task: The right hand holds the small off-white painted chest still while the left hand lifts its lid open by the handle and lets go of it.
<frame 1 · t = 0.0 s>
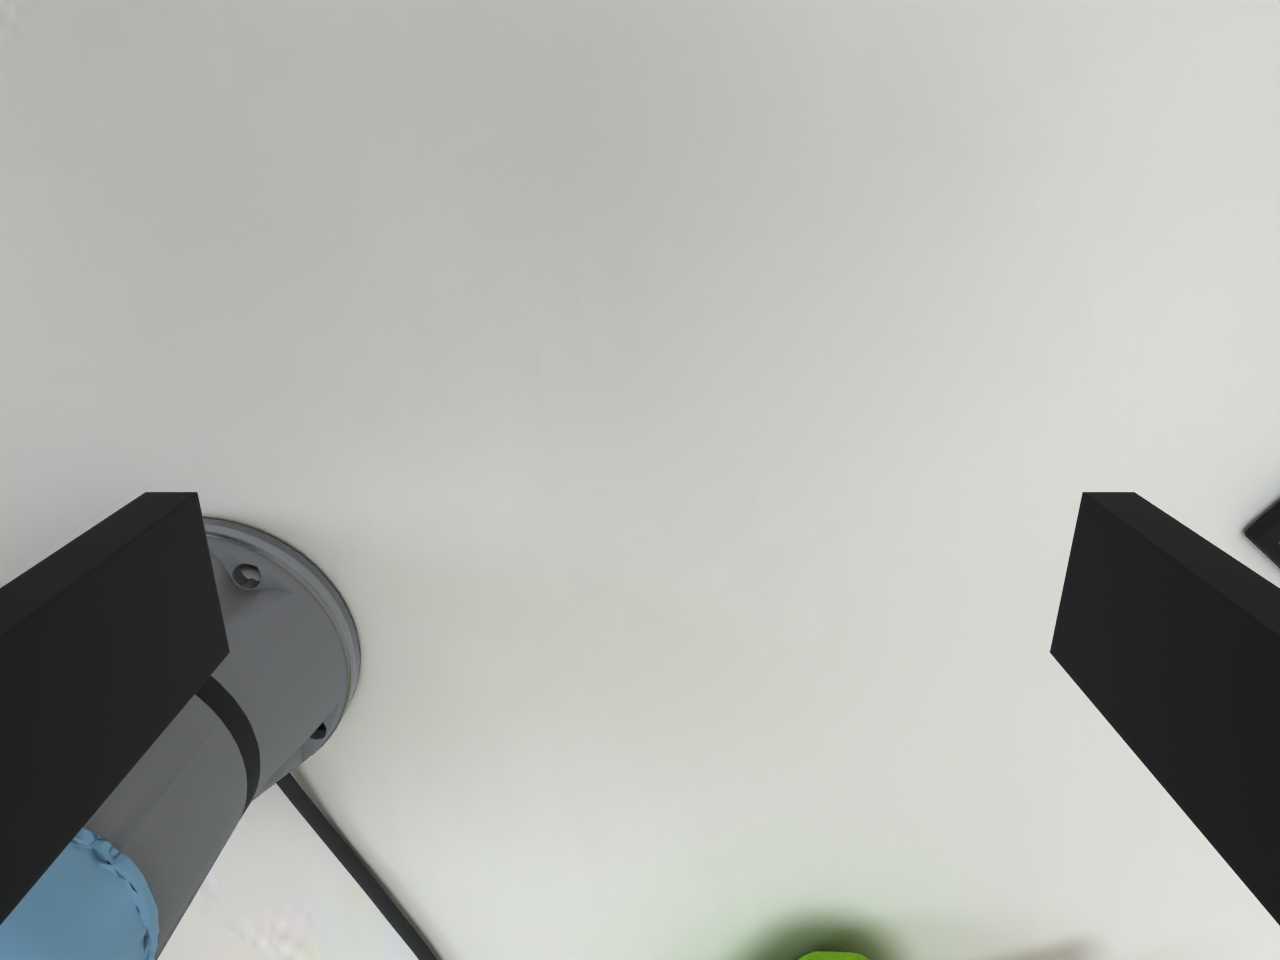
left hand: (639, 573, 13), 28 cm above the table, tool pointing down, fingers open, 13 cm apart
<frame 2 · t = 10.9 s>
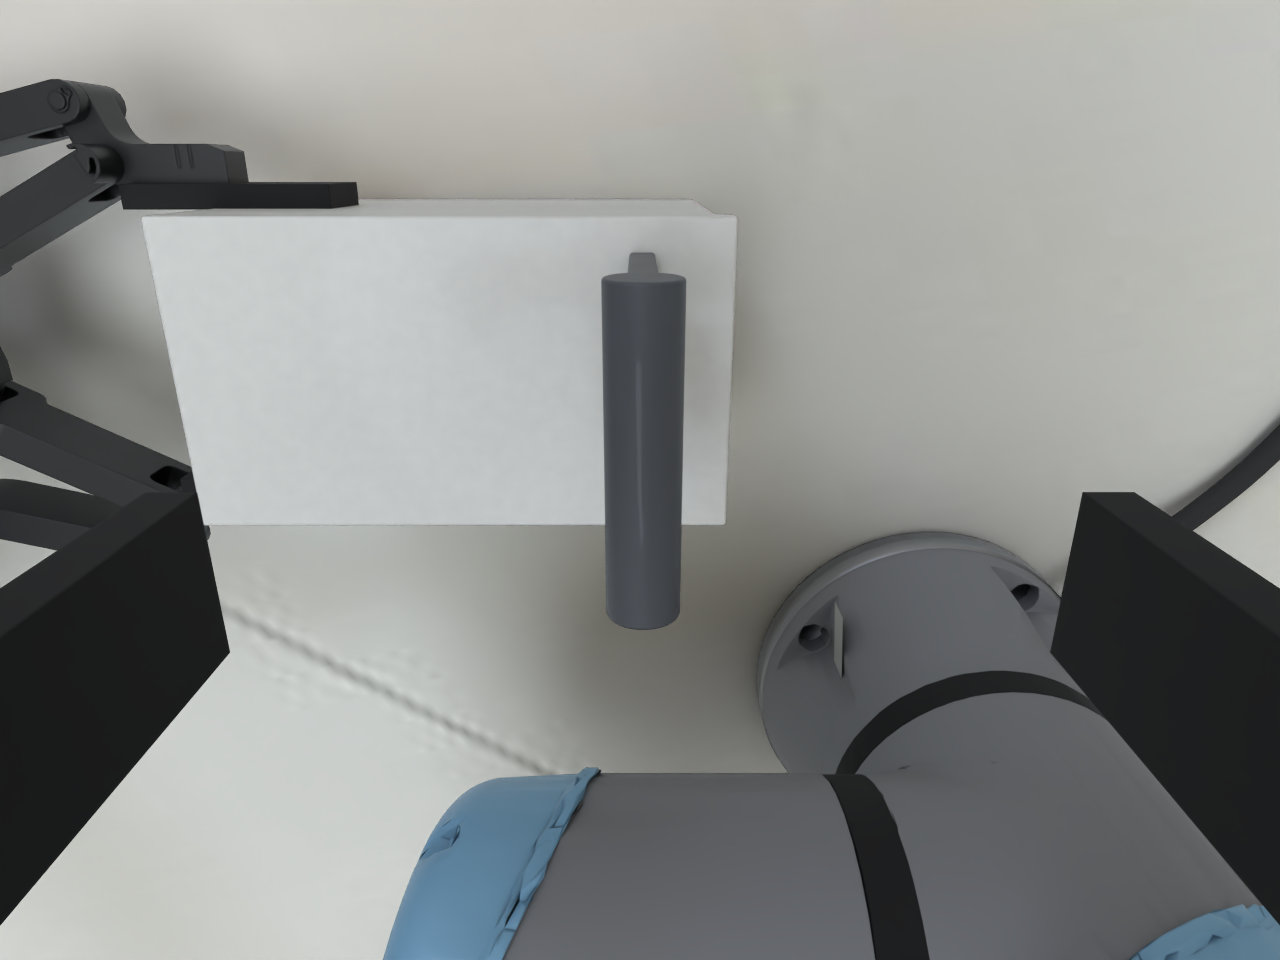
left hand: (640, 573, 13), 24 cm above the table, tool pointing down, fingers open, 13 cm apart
lid: (425, 413, 21), point 15 cm above the table, hinge at 0.0°
chest: (506, 312, 35), on the table, touching right hand
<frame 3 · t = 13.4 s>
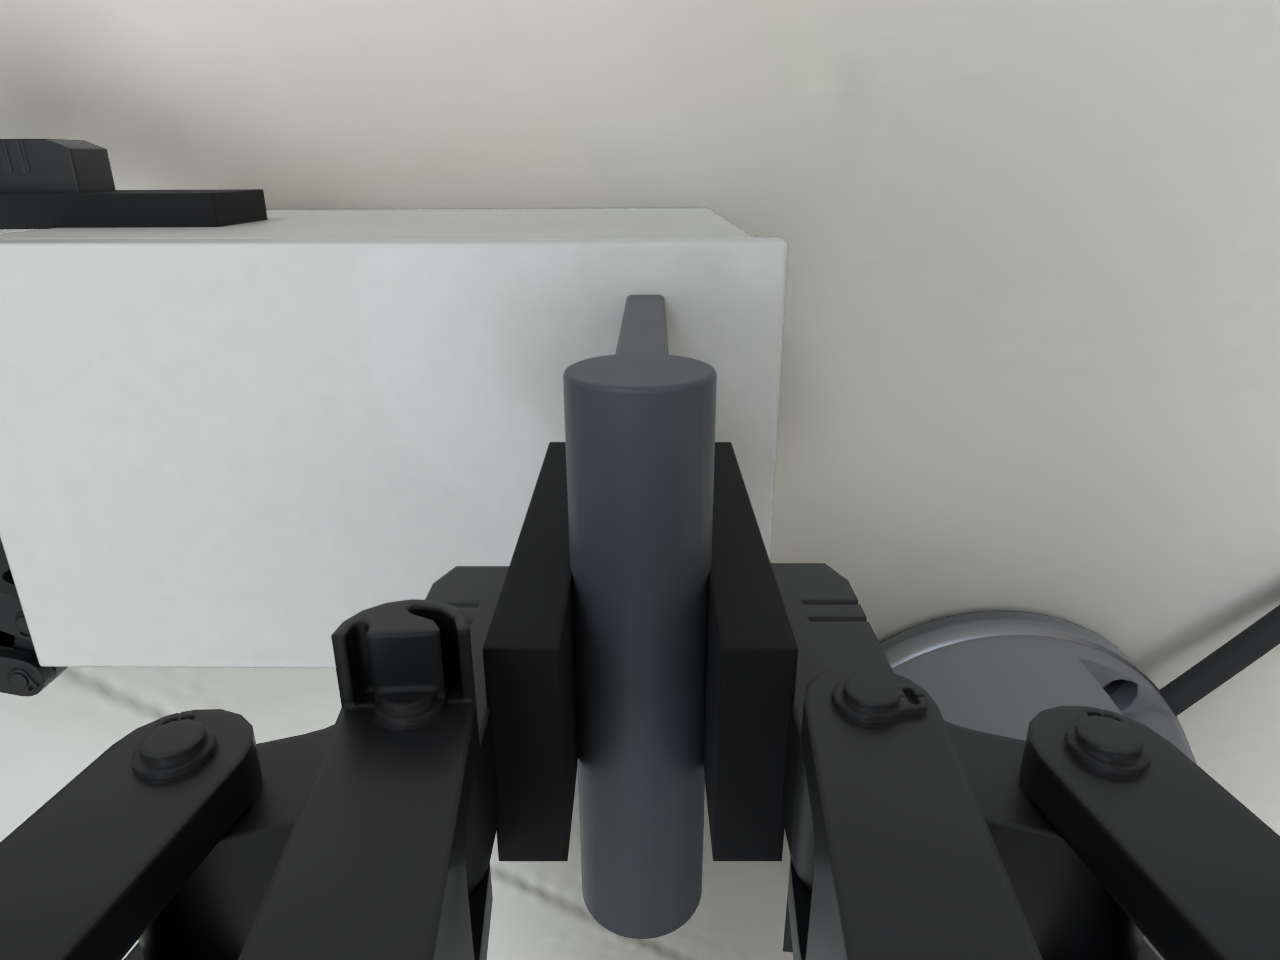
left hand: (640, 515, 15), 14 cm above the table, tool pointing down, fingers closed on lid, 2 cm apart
lid: (313, 545, 14), point 15 cm above the table, hinge at 1.1°, touching left hand
chest: (473, 350, 28), on the table, touching right hand
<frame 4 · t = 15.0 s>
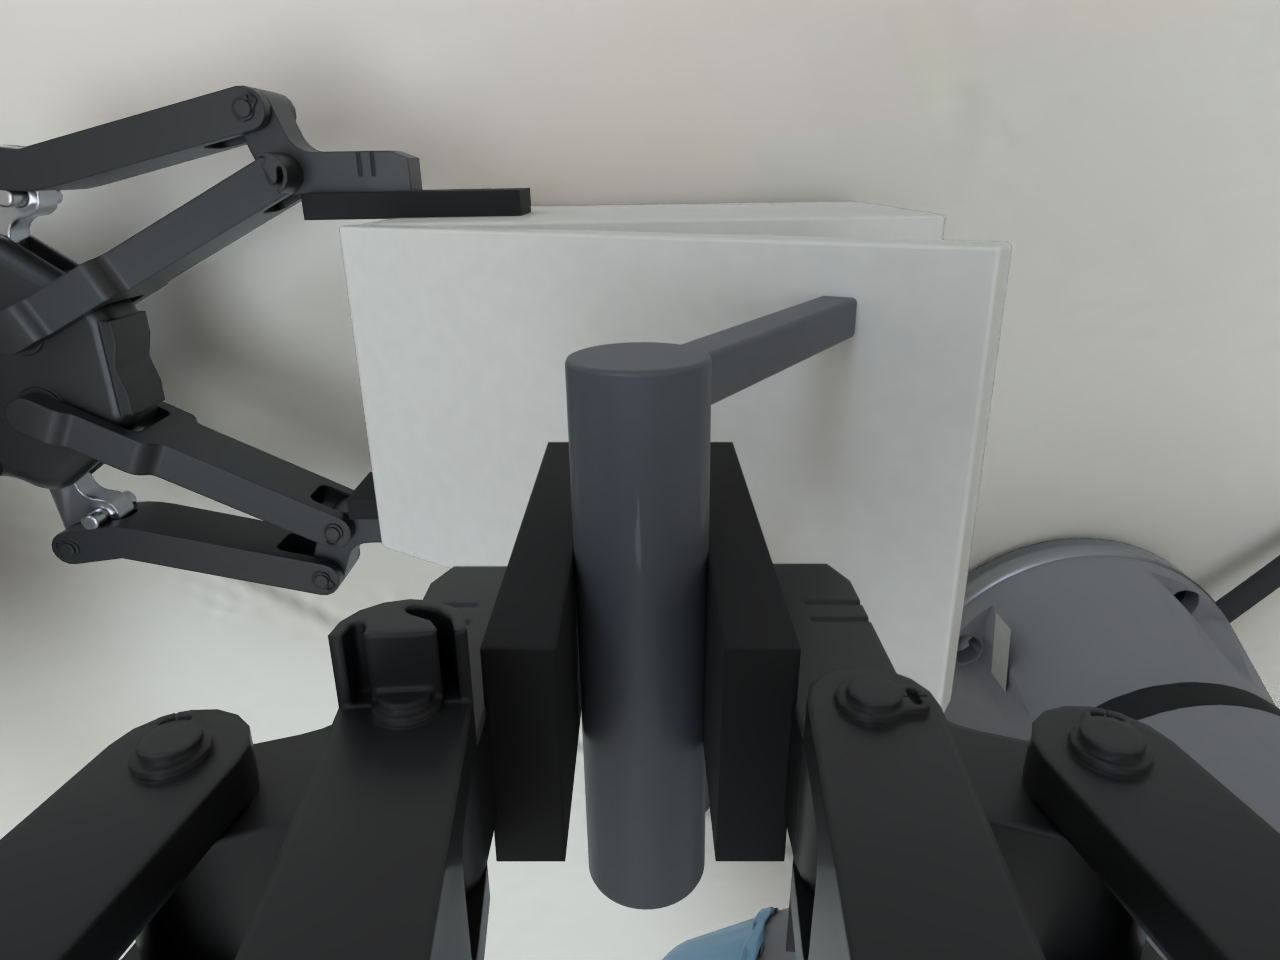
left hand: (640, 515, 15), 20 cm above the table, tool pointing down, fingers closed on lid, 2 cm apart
right hand: (534, 355, 28), fingers closed on chest, 9 cm apart
lid: (501, 486, 16), point 19 cm above the table, hinge at 31.9°, touching left hand
chest: (653, 321, 34), on the table, touching right hand
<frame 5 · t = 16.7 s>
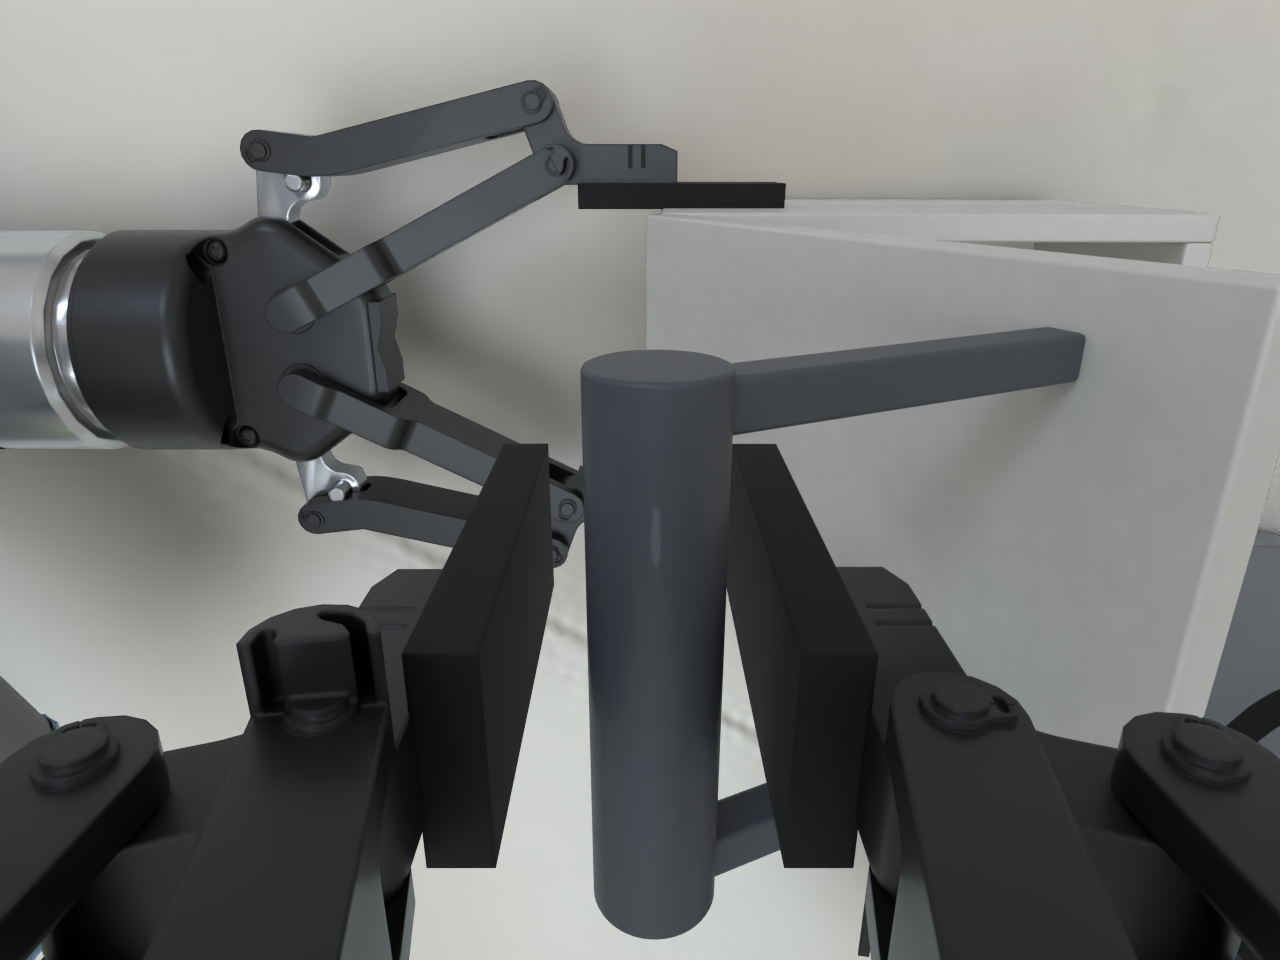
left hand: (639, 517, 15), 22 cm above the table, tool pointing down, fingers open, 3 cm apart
right hand: (769, 342, 29), fingers closed on chest, 9 cm apart
lid: (680, 480, 16), point 20 cm above the table, hinge at 62.1°
chest: (846, 312, 35), on the table, touching right hand
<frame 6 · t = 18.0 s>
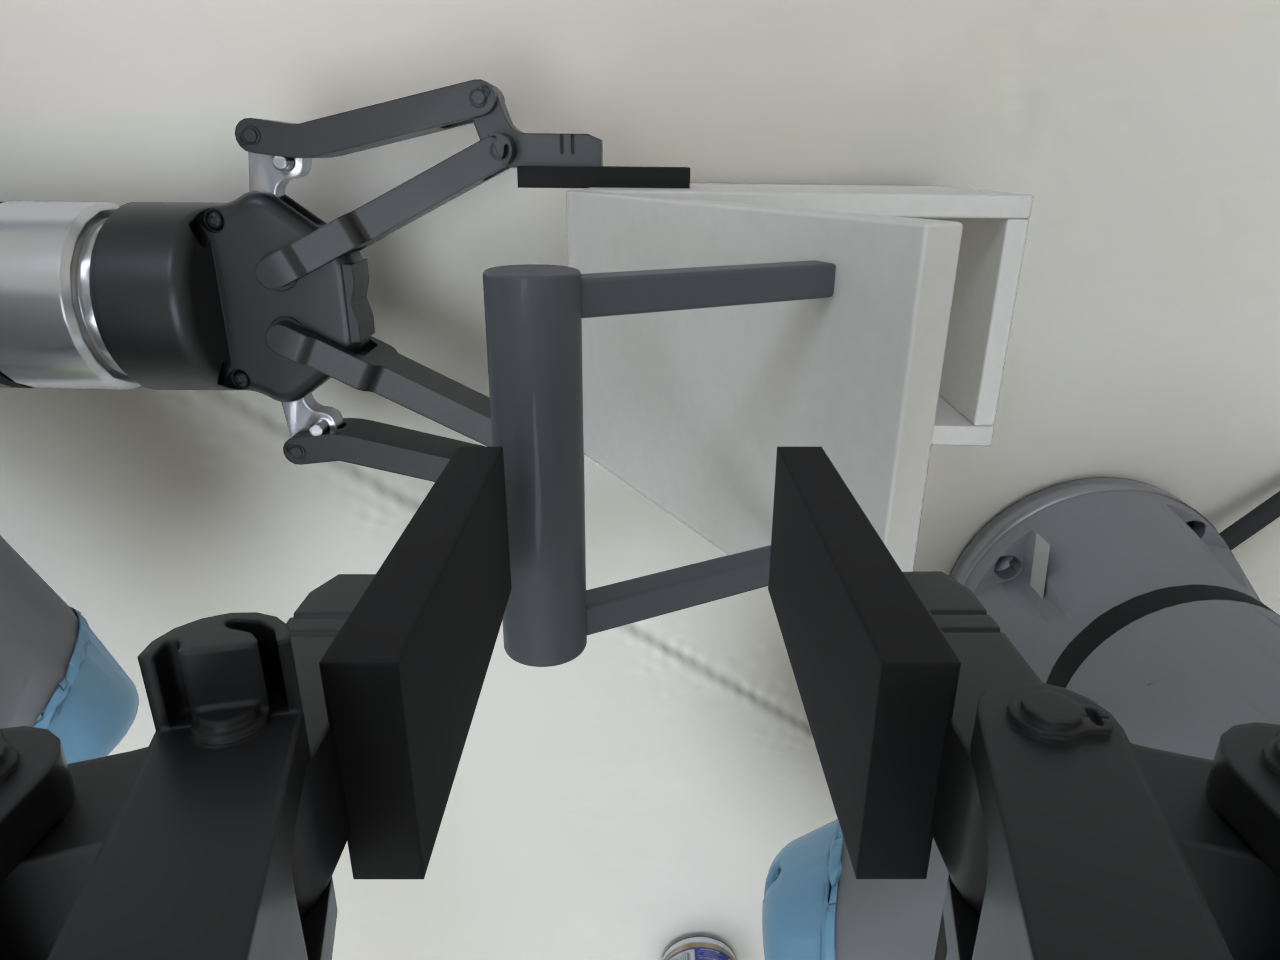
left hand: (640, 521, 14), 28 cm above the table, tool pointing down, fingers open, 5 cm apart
right hand: (683, 303, 34), fingers closed on chest, 9 cm apart
pill bottle: (698, 959, 57), on the table
lid: (580, 387, 22), point 20 cm above the table, hinge at 60.0°
chest: (762, 283, 40), on the table, touching right hand
when the right hand's fingers open (6 cm above the table, at t = 20.7 s): chest stays where it is, on the table.
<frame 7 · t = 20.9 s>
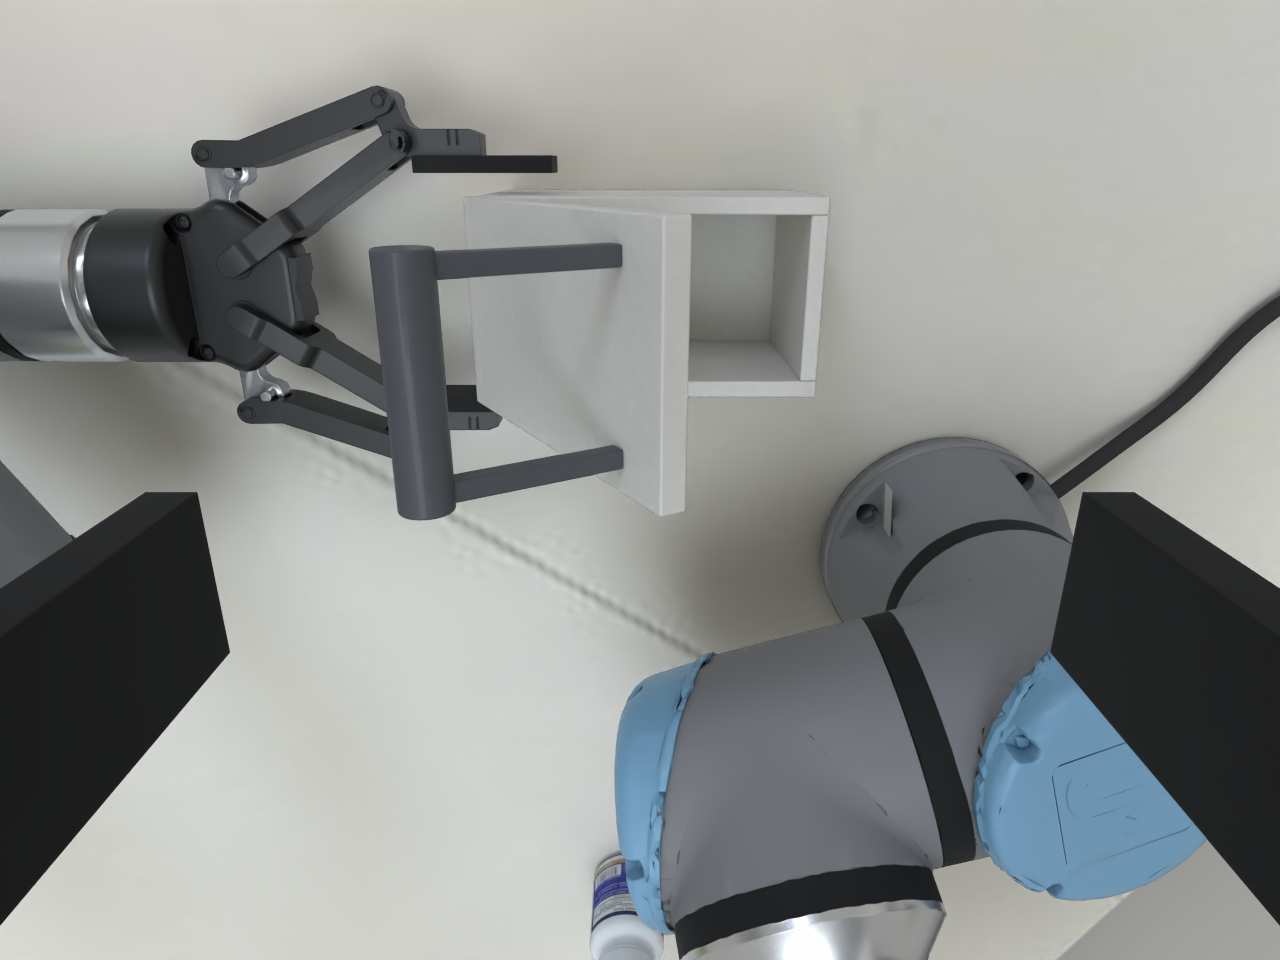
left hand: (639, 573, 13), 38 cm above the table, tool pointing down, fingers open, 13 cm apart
right hand: (559, 287, 42), fingers open, 11 cm apart
pill bottle: (627, 876, 64), on the table
lid: (463, 341, 29), point 20 cm above the table, hinge at 58.9°
chest: (650, 272, 48), on the table
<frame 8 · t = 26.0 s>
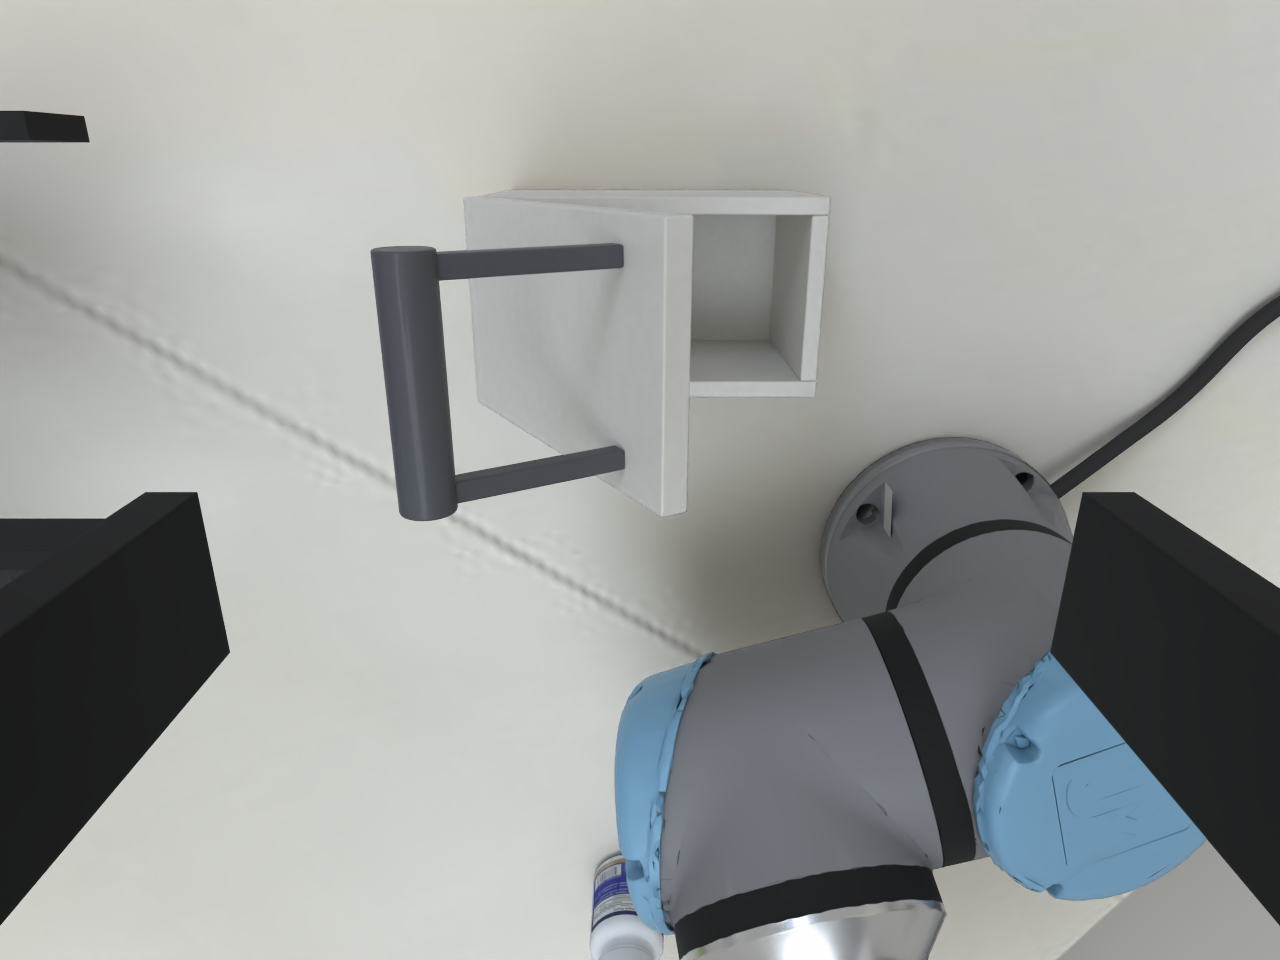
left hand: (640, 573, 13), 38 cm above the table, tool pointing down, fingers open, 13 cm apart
pill bottle: (627, 876, 64), on the table
lid: (464, 341, 29), point 20 cm above the table, hinge at 58.9°
chest: (650, 272, 48), on the table
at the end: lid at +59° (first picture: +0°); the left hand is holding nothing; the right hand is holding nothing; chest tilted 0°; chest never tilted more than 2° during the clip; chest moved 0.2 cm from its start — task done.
